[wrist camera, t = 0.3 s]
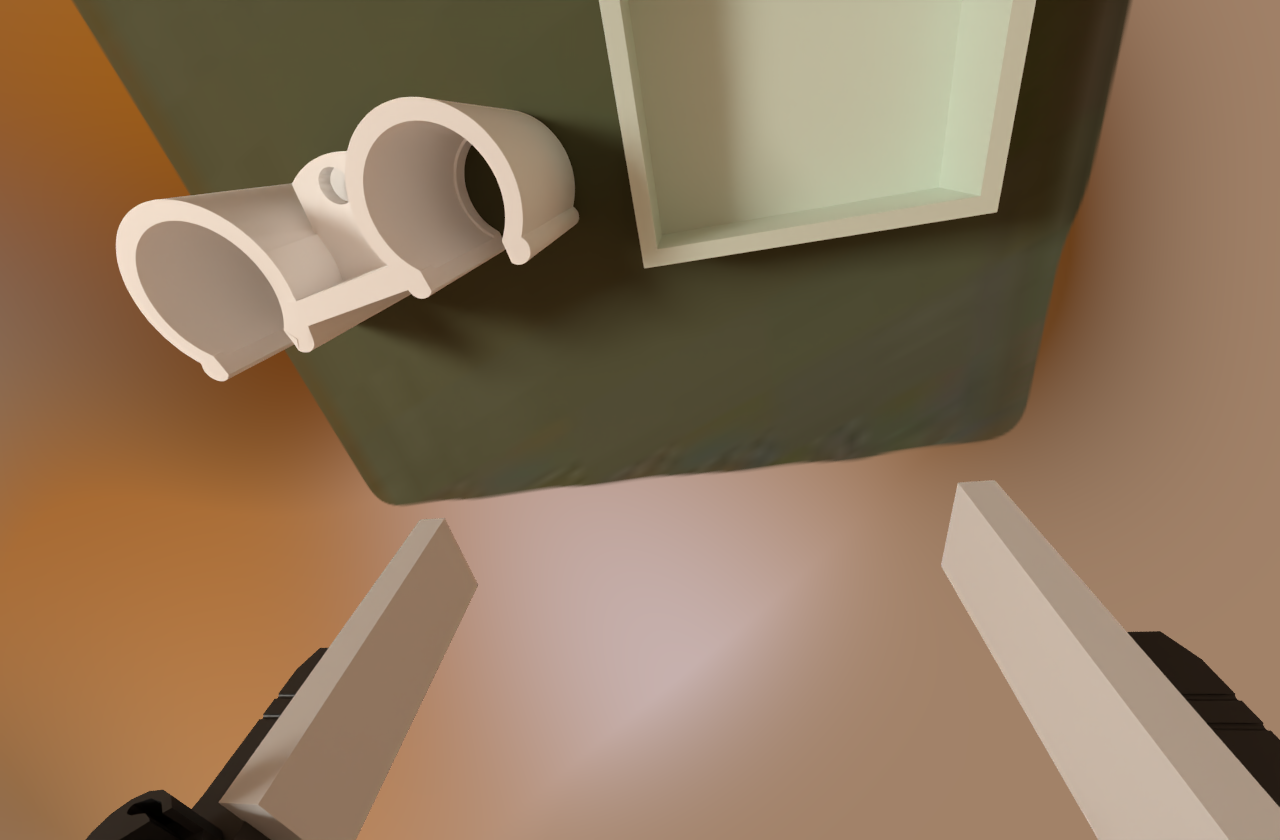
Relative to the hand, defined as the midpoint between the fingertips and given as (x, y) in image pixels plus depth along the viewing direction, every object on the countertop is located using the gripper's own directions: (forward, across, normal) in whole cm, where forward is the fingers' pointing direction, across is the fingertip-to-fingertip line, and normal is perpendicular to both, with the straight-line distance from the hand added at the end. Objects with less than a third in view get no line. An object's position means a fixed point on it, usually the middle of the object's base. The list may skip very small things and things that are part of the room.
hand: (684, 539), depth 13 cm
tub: (+27, +7, +12) cm, 30 cm away
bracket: (+27, -20, +7) cm, 34 cm away
